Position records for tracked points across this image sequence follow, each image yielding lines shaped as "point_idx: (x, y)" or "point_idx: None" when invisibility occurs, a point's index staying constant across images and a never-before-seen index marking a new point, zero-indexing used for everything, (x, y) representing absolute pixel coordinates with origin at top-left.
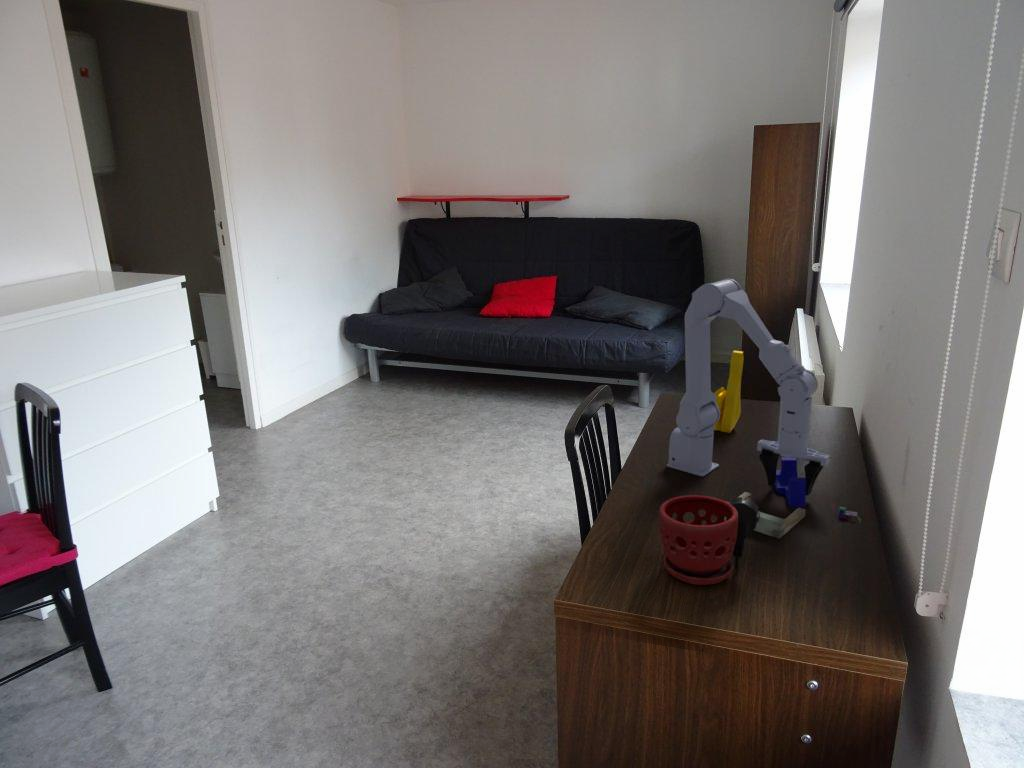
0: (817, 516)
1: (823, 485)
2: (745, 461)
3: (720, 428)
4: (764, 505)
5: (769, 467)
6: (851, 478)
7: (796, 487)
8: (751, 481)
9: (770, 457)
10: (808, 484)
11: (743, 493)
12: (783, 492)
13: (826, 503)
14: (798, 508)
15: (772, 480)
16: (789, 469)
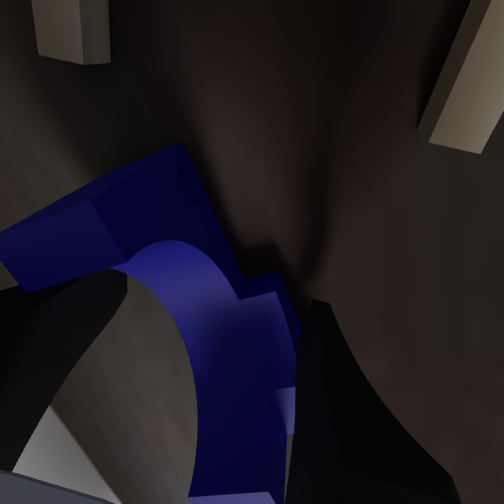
0: (26, 93)
1: (143, 392)
2: None
3: None
4: (319, 92)
5: (329, 388)
6: (97, 446)
7: (84, 193)
8: (423, 359)
9: (330, 494)
10: None
11: (497, 114)
12: (249, 283)
13: None
14: (76, 45)
15: (308, 329)
16: (232, 431)
